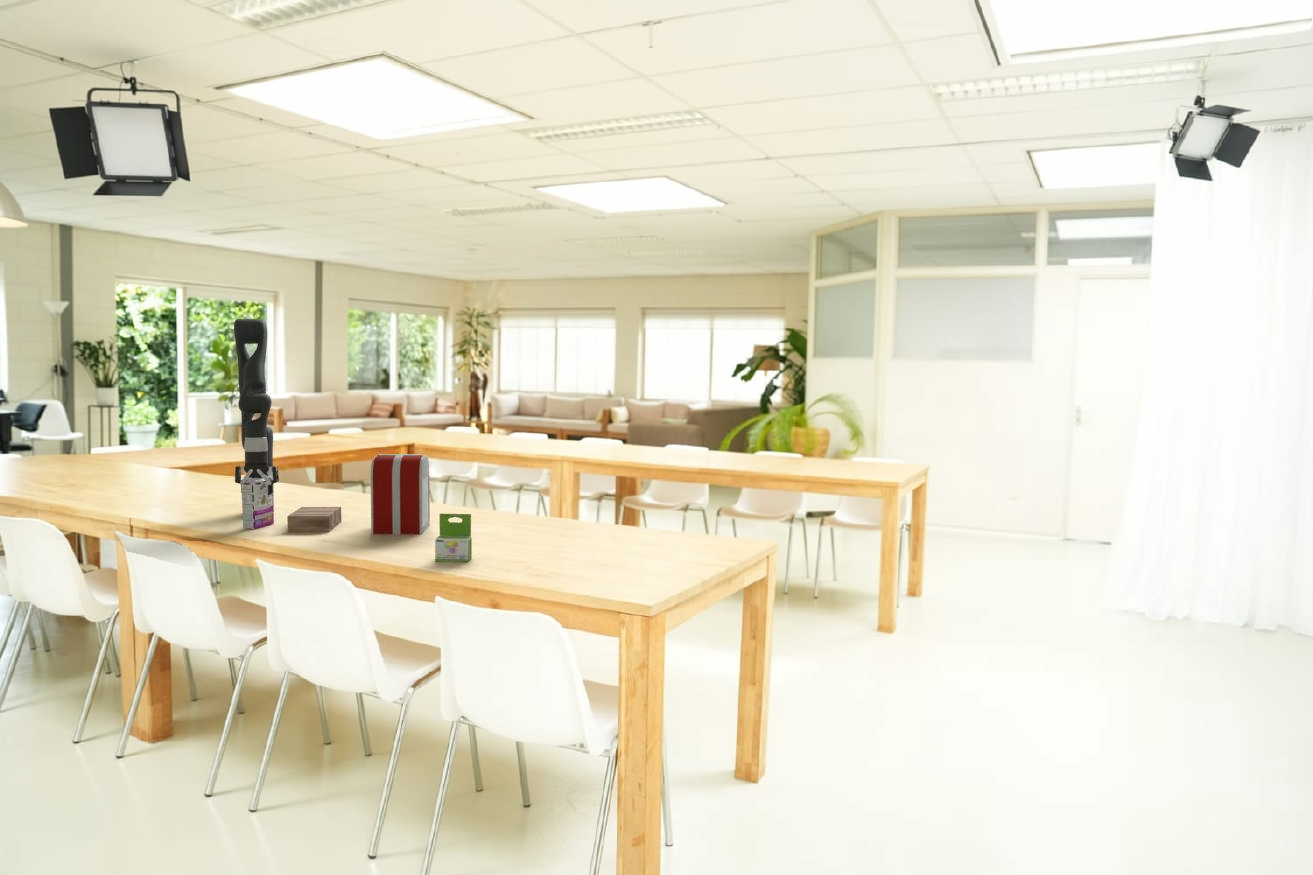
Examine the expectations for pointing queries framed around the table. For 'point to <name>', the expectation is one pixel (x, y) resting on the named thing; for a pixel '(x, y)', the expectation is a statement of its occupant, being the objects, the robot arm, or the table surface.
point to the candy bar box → (256, 504)
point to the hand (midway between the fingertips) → (257, 494)
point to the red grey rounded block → (400, 494)
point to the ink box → (454, 539)
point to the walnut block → (314, 519)
